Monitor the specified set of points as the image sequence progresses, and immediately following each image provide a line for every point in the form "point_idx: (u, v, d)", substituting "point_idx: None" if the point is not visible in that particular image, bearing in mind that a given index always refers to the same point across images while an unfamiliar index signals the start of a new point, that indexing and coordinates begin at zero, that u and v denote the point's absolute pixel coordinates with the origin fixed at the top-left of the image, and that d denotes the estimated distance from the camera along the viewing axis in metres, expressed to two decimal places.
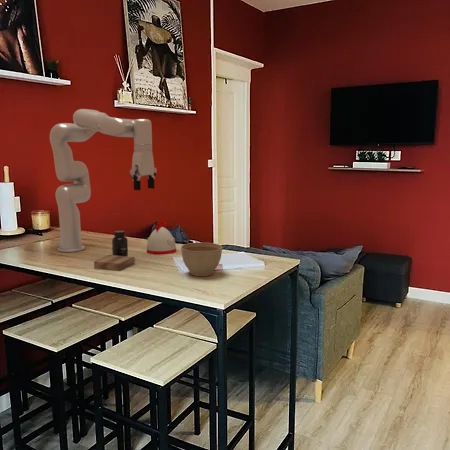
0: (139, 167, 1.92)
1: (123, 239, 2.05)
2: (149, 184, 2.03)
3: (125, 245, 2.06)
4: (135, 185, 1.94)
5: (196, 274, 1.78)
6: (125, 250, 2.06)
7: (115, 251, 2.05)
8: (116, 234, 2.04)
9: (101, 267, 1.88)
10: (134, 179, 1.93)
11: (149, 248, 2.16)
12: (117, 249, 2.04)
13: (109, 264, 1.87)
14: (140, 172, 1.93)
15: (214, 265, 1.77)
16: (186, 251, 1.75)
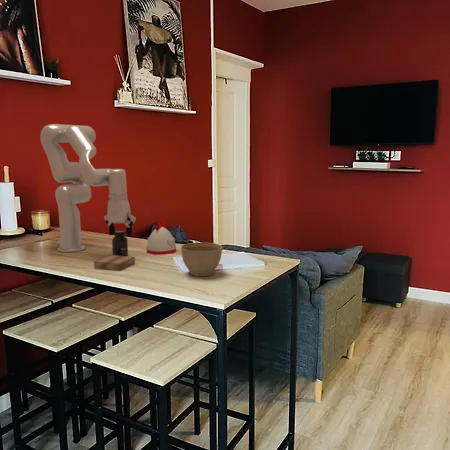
0: None
1: (123, 239, 2.05)
2: (112, 231, 2.08)
3: (125, 245, 2.06)
4: (130, 231, 2.03)
5: (196, 274, 1.78)
6: (125, 250, 2.06)
7: (116, 251, 2.05)
8: (116, 234, 2.04)
9: (101, 267, 1.88)
10: (131, 226, 2.03)
11: (149, 248, 2.16)
12: (117, 249, 2.04)
13: (109, 264, 1.87)
14: None
15: (214, 265, 1.77)
16: (186, 251, 1.75)
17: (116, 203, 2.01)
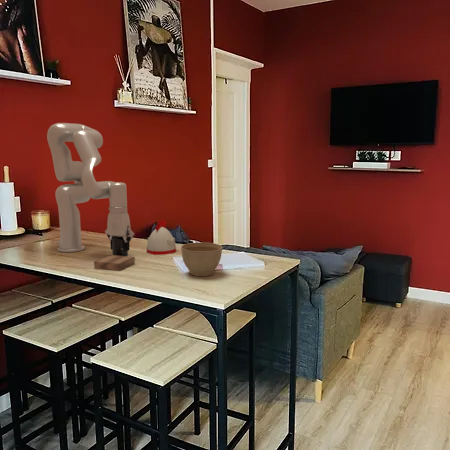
0: None
1: (123, 239, 2.05)
2: None
3: None
4: (128, 246, 2.05)
5: (196, 274, 1.78)
6: None
7: (115, 251, 2.05)
8: None
9: (101, 267, 1.88)
10: (129, 240, 2.04)
11: (149, 248, 2.16)
12: (117, 249, 2.04)
13: (109, 264, 1.87)
14: None
15: (214, 265, 1.77)
16: (186, 251, 1.75)
17: (116, 216, 2.02)
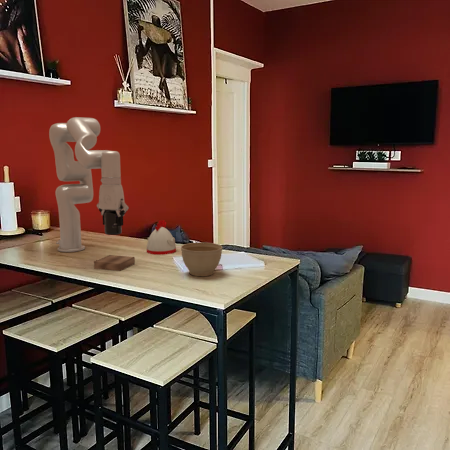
0: None
1: None
2: None
3: None
4: (121, 221, 1.88)
5: (196, 274, 1.78)
6: None
7: (108, 226, 1.87)
8: None
9: (101, 267, 1.88)
10: (122, 215, 1.87)
11: (149, 248, 2.16)
12: (110, 224, 1.87)
13: (109, 264, 1.87)
14: None
15: (214, 265, 1.77)
16: (186, 251, 1.75)
17: (108, 187, 1.85)
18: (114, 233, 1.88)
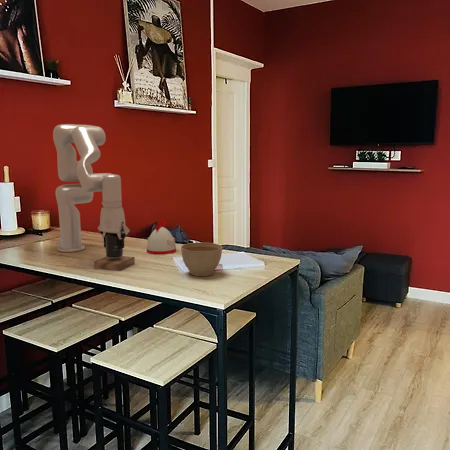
0: (124, 223, 1.89)
1: None
2: None
3: None
4: (122, 243, 1.89)
5: (196, 274, 1.78)
6: None
7: (109, 249, 1.89)
8: None
9: (101, 267, 1.88)
10: (123, 237, 1.89)
11: (149, 248, 2.16)
12: (111, 246, 1.89)
13: (109, 264, 1.87)
14: None
15: (214, 265, 1.77)
16: (186, 251, 1.75)
17: (109, 211, 1.87)
18: (115, 256, 1.89)
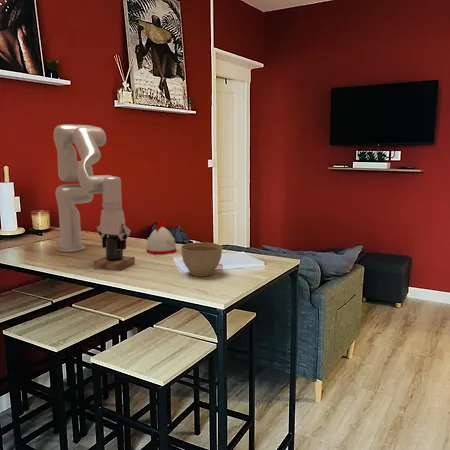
0: None
1: (118, 239, 1.89)
2: (105, 243, 1.93)
3: None
4: (124, 244, 1.89)
5: (196, 274, 1.78)
6: (120, 251, 1.91)
7: (109, 252, 1.89)
8: None
9: (101, 267, 1.88)
10: (125, 238, 1.88)
11: (149, 248, 2.16)
12: (111, 250, 1.89)
13: (109, 264, 1.87)
14: None
15: (214, 265, 1.77)
16: (186, 251, 1.75)
17: (109, 213, 1.87)
18: (115, 259, 1.90)
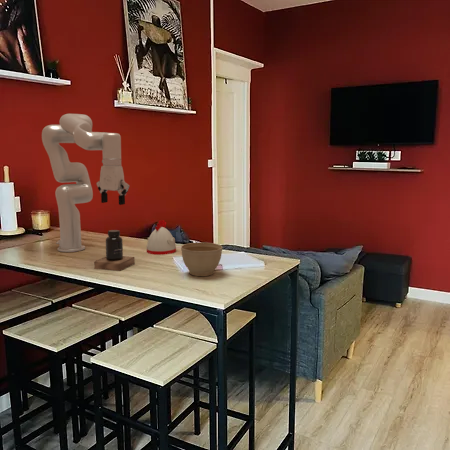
0: (123, 181, 1.94)
1: (118, 239, 1.89)
2: (104, 198, 1.98)
3: (120, 245, 1.90)
4: (123, 199, 1.93)
5: (196, 274, 1.78)
6: (120, 251, 1.91)
7: (109, 252, 1.89)
8: (110, 234, 1.89)
9: (101, 267, 1.88)
10: (124, 193, 1.93)
11: (149, 248, 2.16)
12: (111, 250, 1.89)
13: (109, 264, 1.87)
14: None
15: (214, 265, 1.77)
16: (186, 251, 1.75)
17: (109, 168, 1.91)
18: (115, 259, 1.90)
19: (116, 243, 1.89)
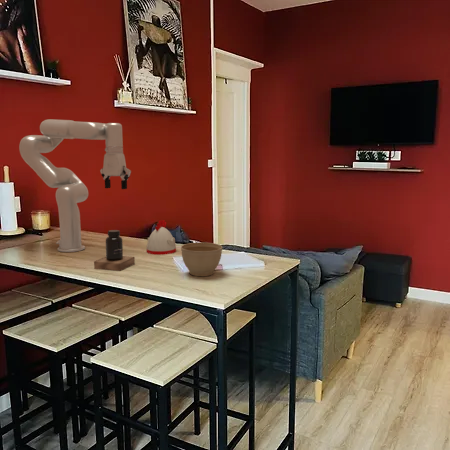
0: (125, 167, 2.10)
1: (118, 239, 1.89)
2: (107, 184, 2.14)
3: (120, 245, 1.90)
4: (125, 184, 2.10)
5: (196, 274, 1.78)
6: (120, 251, 1.91)
7: (109, 252, 1.89)
8: (110, 234, 1.89)
9: (101, 267, 1.88)
10: (126, 179, 2.09)
11: (149, 248, 2.16)
12: (111, 250, 1.89)
13: (109, 264, 1.87)
14: None
15: (214, 265, 1.77)
16: (186, 251, 1.75)
17: (112, 156, 2.07)
18: (115, 259, 1.90)
19: (116, 243, 1.89)
